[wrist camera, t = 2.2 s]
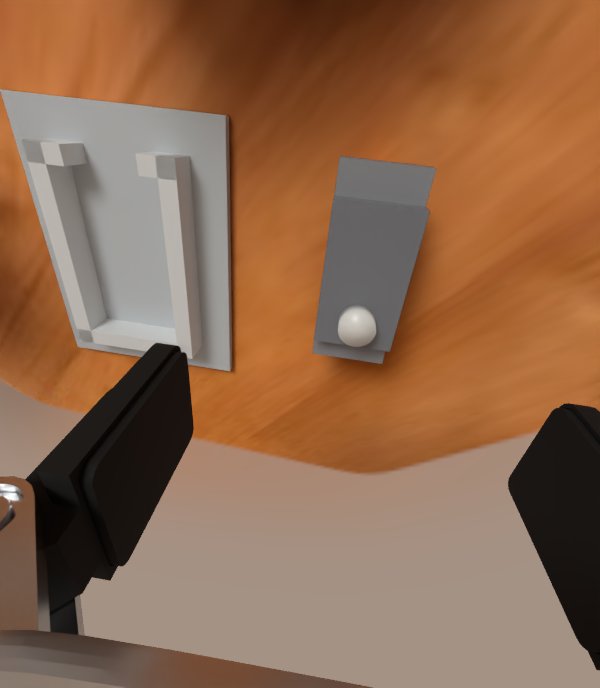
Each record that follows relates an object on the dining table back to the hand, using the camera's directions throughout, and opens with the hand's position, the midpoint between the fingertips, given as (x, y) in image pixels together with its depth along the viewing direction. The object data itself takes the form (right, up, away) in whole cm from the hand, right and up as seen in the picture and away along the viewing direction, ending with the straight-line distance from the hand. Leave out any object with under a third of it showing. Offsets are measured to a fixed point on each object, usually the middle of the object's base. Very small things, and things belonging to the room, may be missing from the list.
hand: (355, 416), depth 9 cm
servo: (+2, +7, +11) cm, 14 cm away
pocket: (-12, +8, +13) cm, 19 cm away
